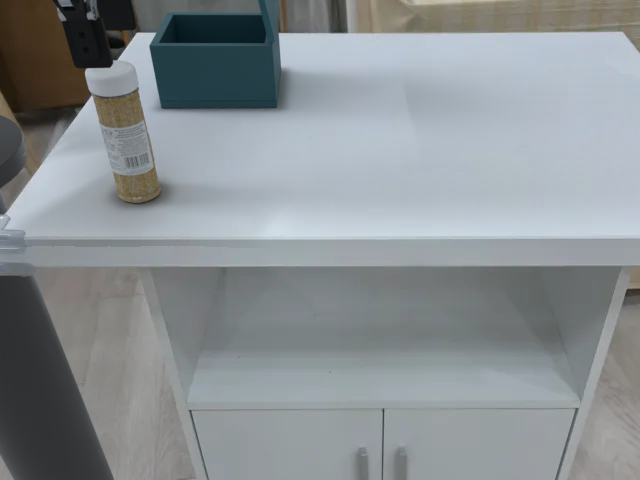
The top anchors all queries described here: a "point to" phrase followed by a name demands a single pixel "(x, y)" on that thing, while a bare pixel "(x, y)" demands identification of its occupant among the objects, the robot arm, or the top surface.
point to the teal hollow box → (215, 61)
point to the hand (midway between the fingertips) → (108, 47)
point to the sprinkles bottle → (124, 130)
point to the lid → (270, 17)
